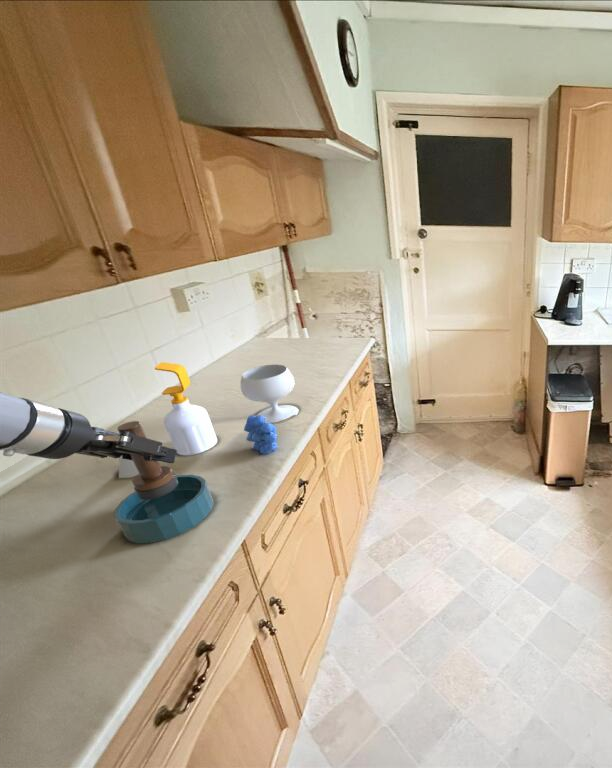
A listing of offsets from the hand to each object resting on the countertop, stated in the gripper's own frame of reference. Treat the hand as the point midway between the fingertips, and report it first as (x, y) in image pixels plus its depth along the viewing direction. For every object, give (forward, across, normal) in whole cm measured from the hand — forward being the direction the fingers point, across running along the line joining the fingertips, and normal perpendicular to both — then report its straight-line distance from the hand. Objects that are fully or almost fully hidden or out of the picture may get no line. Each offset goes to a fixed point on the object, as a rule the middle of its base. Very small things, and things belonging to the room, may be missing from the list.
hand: (163, 456), depth 82 cm
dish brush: (+1, 0, -6) cm, 6 cm away
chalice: (+38, +1, +19) cm, 42 cm away
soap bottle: (+26, -12, +7) cm, 29 cm away
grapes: (+24, +8, +5) cm, 26 cm away
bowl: (+7, 0, -12) cm, 14 cm away
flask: (+19, -20, 0) cm, 28 cm away
